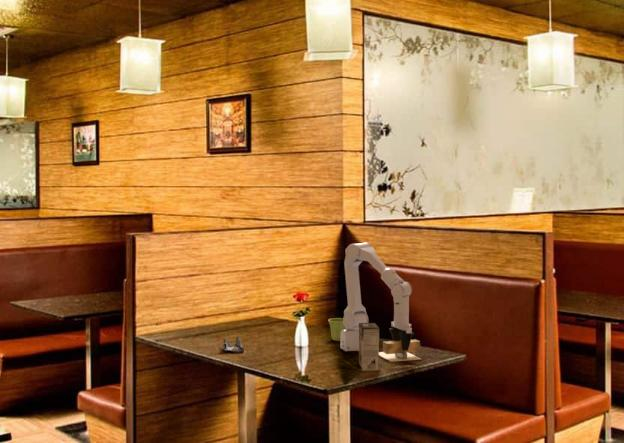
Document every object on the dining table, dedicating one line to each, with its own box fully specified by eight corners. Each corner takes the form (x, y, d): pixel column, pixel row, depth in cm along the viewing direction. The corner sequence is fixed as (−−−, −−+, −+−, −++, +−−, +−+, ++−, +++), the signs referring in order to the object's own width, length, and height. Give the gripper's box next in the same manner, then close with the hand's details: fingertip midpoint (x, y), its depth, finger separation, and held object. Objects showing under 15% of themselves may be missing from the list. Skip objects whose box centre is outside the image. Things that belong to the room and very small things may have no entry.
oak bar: (387, 354, 309) (387, 343, 309) (382, 351, 313) (382, 341, 313) (420, 351, 314) (420, 341, 313) (415, 349, 317) (415, 339, 317)
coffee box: (358, 364, 305) (358, 322, 304) (375, 364, 305) (375, 322, 304) (361, 370, 296) (362, 327, 295) (379, 370, 296) (379, 327, 295)
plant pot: (324, 340, 347) (324, 320, 347) (332, 336, 356) (332, 317, 355) (345, 342, 344) (345, 322, 343) (352, 338, 352) (352, 318, 352)
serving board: (390, 363, 307) (390, 361, 307) (374, 354, 322) (374, 352, 322) (421, 361, 311) (421, 359, 311) (403, 352, 326) (404, 350, 326)
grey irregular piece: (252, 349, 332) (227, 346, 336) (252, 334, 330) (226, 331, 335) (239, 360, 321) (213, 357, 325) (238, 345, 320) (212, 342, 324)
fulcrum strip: (402, 359, 310) (402, 353, 310) (394, 355, 316) (394, 350, 316) (407, 359, 310) (407, 353, 310) (399, 355, 317) (399, 349, 317)
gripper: (419, 316, 307) (418, 351, 308) (402, 309, 320) (402, 343, 321) (402, 317, 304) (401, 352, 305) (386, 310, 318) (386, 344, 319)
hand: (401, 348), depth 313 cm, fingers open, 7 cm apart
